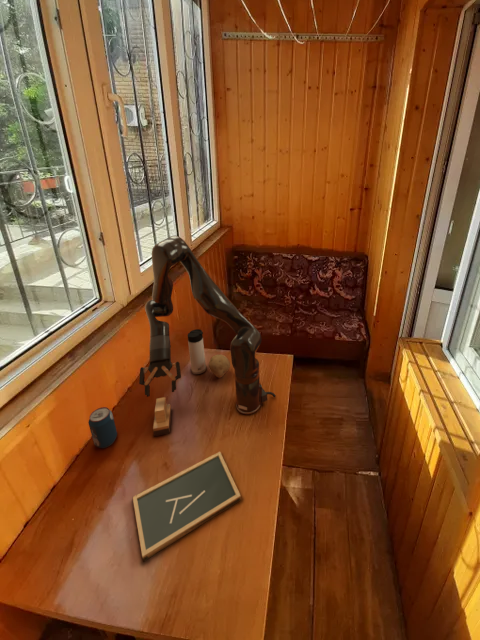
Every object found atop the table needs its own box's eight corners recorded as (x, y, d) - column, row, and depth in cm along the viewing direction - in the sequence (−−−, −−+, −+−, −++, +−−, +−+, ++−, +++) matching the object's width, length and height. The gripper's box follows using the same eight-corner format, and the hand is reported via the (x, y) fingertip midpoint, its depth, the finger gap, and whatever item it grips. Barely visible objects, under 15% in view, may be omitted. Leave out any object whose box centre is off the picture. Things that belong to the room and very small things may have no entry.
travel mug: (202, 375, 136) (198, 337, 130) (189, 373, 138) (184, 335, 131) (209, 366, 142) (205, 328, 135) (195, 364, 143) (191, 327, 137)
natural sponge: (224, 365, 143) (222, 346, 140) (234, 375, 137) (233, 356, 134) (206, 374, 137) (204, 355, 134) (216, 385, 131) (215, 365, 128)
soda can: (120, 430, 110) (114, 404, 106) (113, 448, 104) (107, 421, 100) (99, 433, 109) (92, 407, 105) (91, 451, 102) (83, 424, 98)
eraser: (157, 413, 117) (154, 395, 114) (171, 411, 118) (168, 392, 115) (154, 436, 108) (150, 416, 105) (169, 433, 109) (166, 413, 106)
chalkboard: (220, 455, 102) (220, 451, 101) (240, 500, 89) (240, 495, 88) (133, 501, 88) (132, 497, 88) (143, 561, 76) (142, 556, 75)
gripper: (137, 350, 115) (137, 397, 108) (178, 344, 118) (180, 390, 112) (142, 353, 121) (142, 398, 115) (180, 347, 125) (182, 391, 119)
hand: (160, 394), depth 113 cm, fingers open, 8 cm apart
